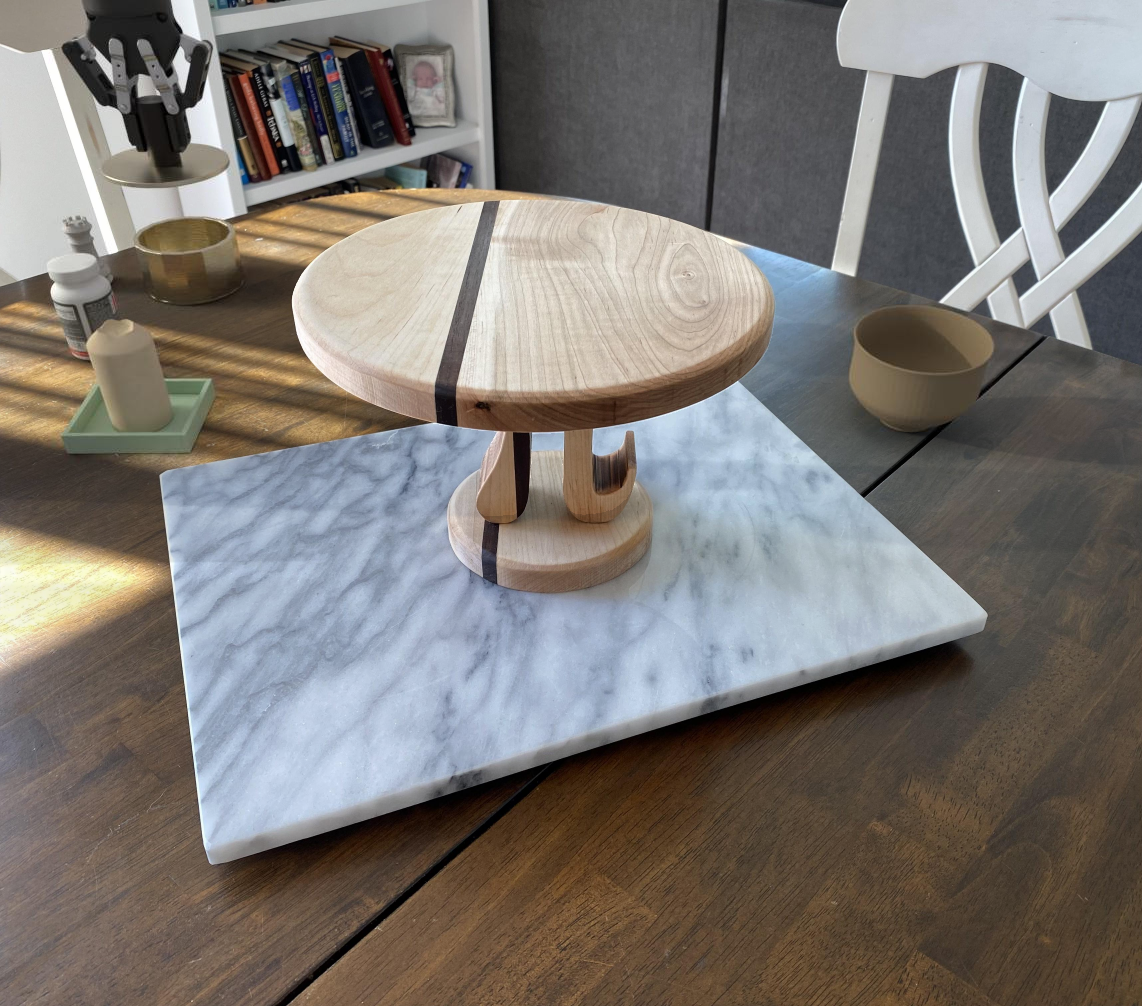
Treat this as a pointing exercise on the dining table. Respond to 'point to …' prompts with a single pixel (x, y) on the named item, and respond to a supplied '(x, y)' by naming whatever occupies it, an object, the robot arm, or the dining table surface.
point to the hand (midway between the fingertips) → (163, 149)
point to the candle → (130, 377)
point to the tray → (178, 436)
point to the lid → (162, 155)
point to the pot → (189, 260)
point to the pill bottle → (81, 298)
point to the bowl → (918, 365)
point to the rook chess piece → (84, 241)
